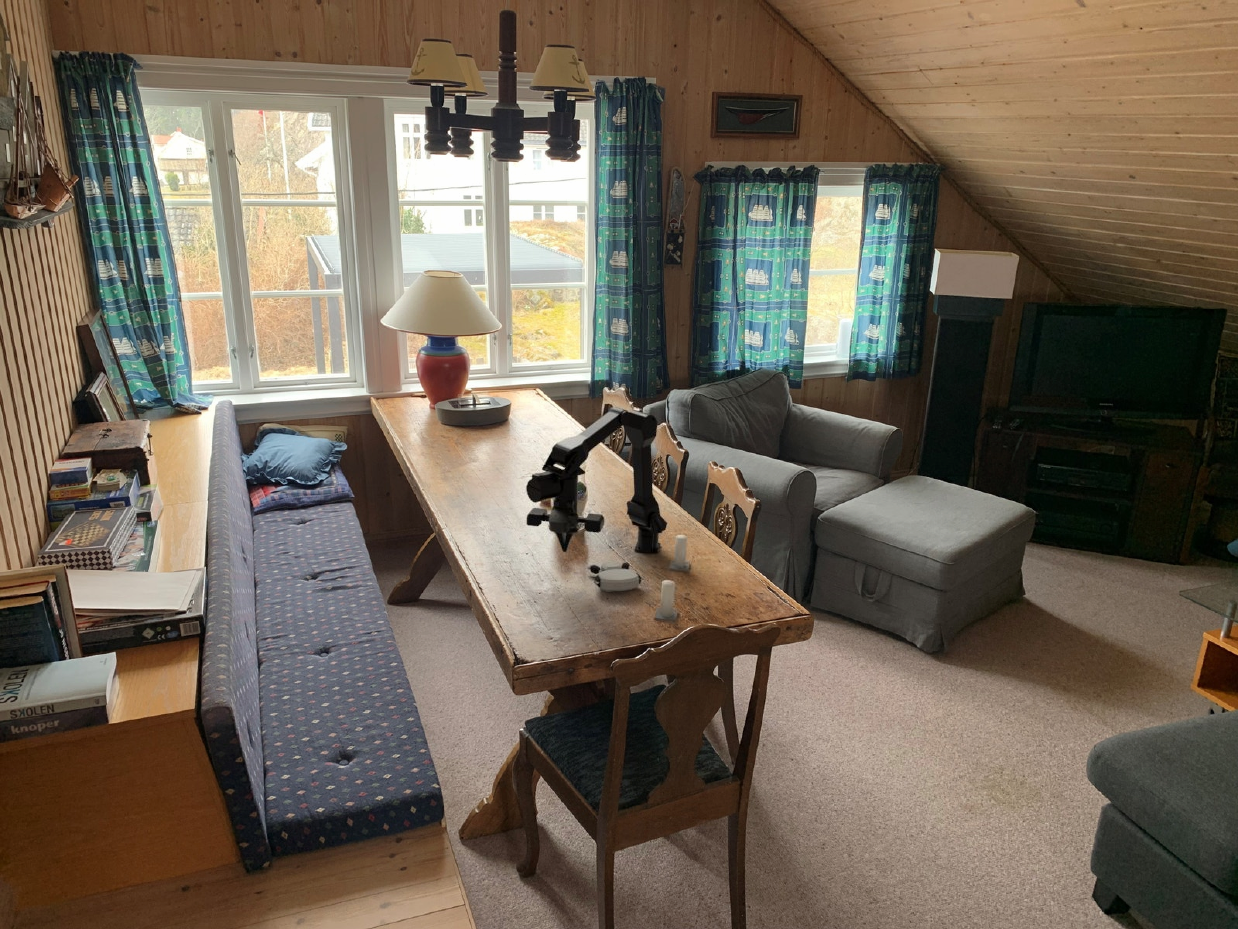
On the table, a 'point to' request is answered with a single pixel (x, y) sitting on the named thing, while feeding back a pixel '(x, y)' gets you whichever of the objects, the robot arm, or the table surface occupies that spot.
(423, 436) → the table surface
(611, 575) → the robot toy
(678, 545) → the pair of white pegs
